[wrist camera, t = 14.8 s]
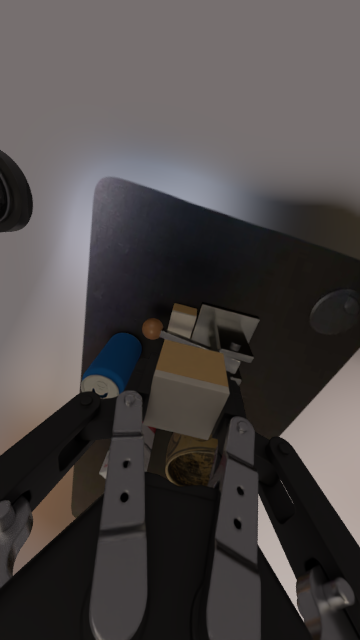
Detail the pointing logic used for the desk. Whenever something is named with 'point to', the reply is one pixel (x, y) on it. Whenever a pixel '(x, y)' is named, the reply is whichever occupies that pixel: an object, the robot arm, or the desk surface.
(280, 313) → the desk surface
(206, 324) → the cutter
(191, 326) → the cake
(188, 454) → the ceramic bowl
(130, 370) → the beverage can
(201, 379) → the cake slice
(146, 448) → the ink box
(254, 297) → the desk surface
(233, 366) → the lever
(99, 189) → the desk surface
